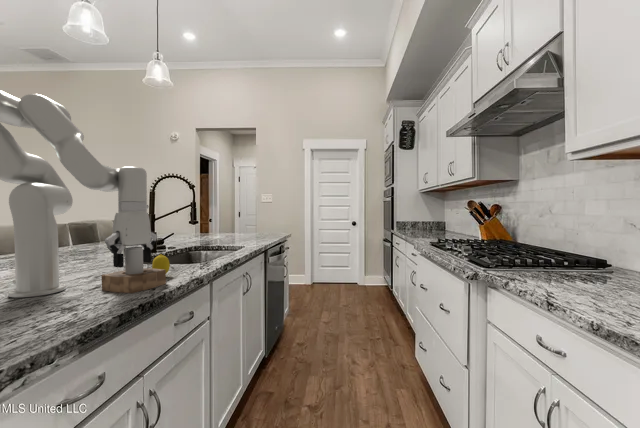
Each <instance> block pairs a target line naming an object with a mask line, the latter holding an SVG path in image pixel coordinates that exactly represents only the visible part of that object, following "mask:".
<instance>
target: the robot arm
mask: <svg viewBox="0 0 640 428" xmlns="http://www.w3.org/2000/svg"><path fill="white" fill-rule="evenodd" d="M2 123H3V124H6V125H8V126H14V127H19V128H27V129H34V130H35V131H36V132H38V134H40V136H42V138H43V139H44V140H45V141H46V142H47V143H48V145H50V146H51V147H52V148H53V149H54V151H55V154H56V156H57V158H58V160H59V161H60V163H61V165H62V166H63V167H64V168H65V170H66V171H68V173H70V174H71V175H72V177H74V179H75V180H77V181H78V182H79V184H80V185H82V186H84V187H86V188H88V189H90V190H93V191H102V192H105V193H106V192H111V193H113V192H117V193H118V194H117V197H118V198H117V202H118V203H117V204H118V207H117V208H118V212H115V214H114V218H113V225H112V233H111V235H108V237H106V238H105V239H104V243H105V245H106V246H107V247H106V248H107V249H108V250H109V251H110V253H111V254H112V255H113V256H112V257H113V259H112V264H113V268H123V267H125V253H122V252H124V251H125V250H124V249H125V248H127V247H136V246H140V247H142V249H143V263H151V262H152V250H153V249H154V245H156V241H157V239H158V234H157V233H155V232H153V231H152V230H151V221H150V220H151V219H150V216H149V212H148V209H149V205H148V202H147V201H148V194H147V193H148V187H147V185H148V184H147V182H148V181H147V180H148V178H147V177H148V176H147V170H146V169H144V168H142V167H137V166H122V167H119V168H115V167H111V166H109V165H105V164H102V163H101V162H100V161H99V160H98V159H97V158H96V157H95V156H94V155H93V154H92V153H91V152H90V151H89V150H88V149H87V148H86V146H85V145H84V143H83V142H84V138H85V136H84V133H83V132H82V131H81V130H80V129H79V128H78V127H77V126H76V125H75V123H74V122H73V121H72V116H71V114H70V112H69V111H68V109H67V108H65V106H64V105H62V104H60V103H58V102H57V101H54V100H53V99H51V98H49V97H47V96H45V95H42V94H38V93H30V94H29V93H28V94H25V95H24V96H22V97H21V98H18V97H16V96H13V95H11V94H9V93H7V92H5V91H3V90H1V89H0V180H1V181H2V182H4V183H9V184H17V185H16V186H15V187H14V188H13V189H12V190H11V191H10V192H9V193H10V194H9V197H8V205H9V209H10V214H11V218H12V221H13V222H12V223H13V239H14V264H15V265H14V269H15V270H14V271H15V279H14V280H12V284H13V285H15V289H12V290H9V291H8V292H7V296H8V297H10V298H15V299H18V298H19V299H20V298H31V297H41V296H46V295H52V294H55V293H60V292H62V291H65V290H66V289H67V285H66V284H65V283H60V263H59V262H60V258H59V257H60V253H59V249H60V248H59V229H58V223H57V220H56V218H55V216H59V215H60V216H61V215H63V214H66V213H67V212H68V211H70V209H71V208H72V206H73V203H74V202H73V195H72V193H71V192H70V190H69V189H68V187H67V186H66V185H67V184H65V182H64V181H63V179H62V178H61V177H60V175H59V174H58V172H57V171H56V170H55V168H54V167H53V165H52V164H51V163H49V161H48V160H46V159H44V158H43V157H40V156H38V155H36V154H32V153H28V152H27V151H25V150H24V149H23V148H22V147H21V146H20V144H19V143H18V142H17V140H16V139H15V137H14V136H13V135H12V133H11V132H10V131H9V130H8V129H7V128H6V127H5V126H4V125H3V124H2Z"/></svg>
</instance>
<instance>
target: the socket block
mask: <svg viewBox="0 0 640 428" xmlns="http://www.w3.org/2000/svg"><path fill="white" fill-rule="evenodd" d="M143 270H144V273H139V274H128V275H127V274H125V269H123V270H117V271H114V272H113V271H112V272H110V273H105V274H101V291H105V292H111V293H120V294H121V293H124V294H126V293H128V294H134V293H139V292H142V291H147V290H150V289H154V288H157V287H159V286H163V285H166V284H167V277H166V276H167V273H166V270H164V269H152V267H148V268H147V267H146V268H145V267H143Z"/></svg>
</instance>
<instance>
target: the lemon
mask: <svg viewBox="0 0 640 428" xmlns="http://www.w3.org/2000/svg"><path fill="white" fill-rule="evenodd" d="M170 265H171V264H170V259H169V258H168V257H167V256H166V255H163V254H161V253H160V254H159V255H157V256H156V257H154V258H153V260H152V265H151V268H152V269H164V270H166V274H167V273H169V271H170V268H171V267H170Z"/></svg>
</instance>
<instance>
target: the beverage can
mask: <svg viewBox="0 0 640 428" xmlns="http://www.w3.org/2000/svg"><path fill="white" fill-rule="evenodd" d="M124 249H125V250H124V270H125V274H127V275H128V274H139V273H144V270H143V268H144V262H143V249H144V248H143V247H142V246H127V247H125V248H124Z"/></svg>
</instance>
